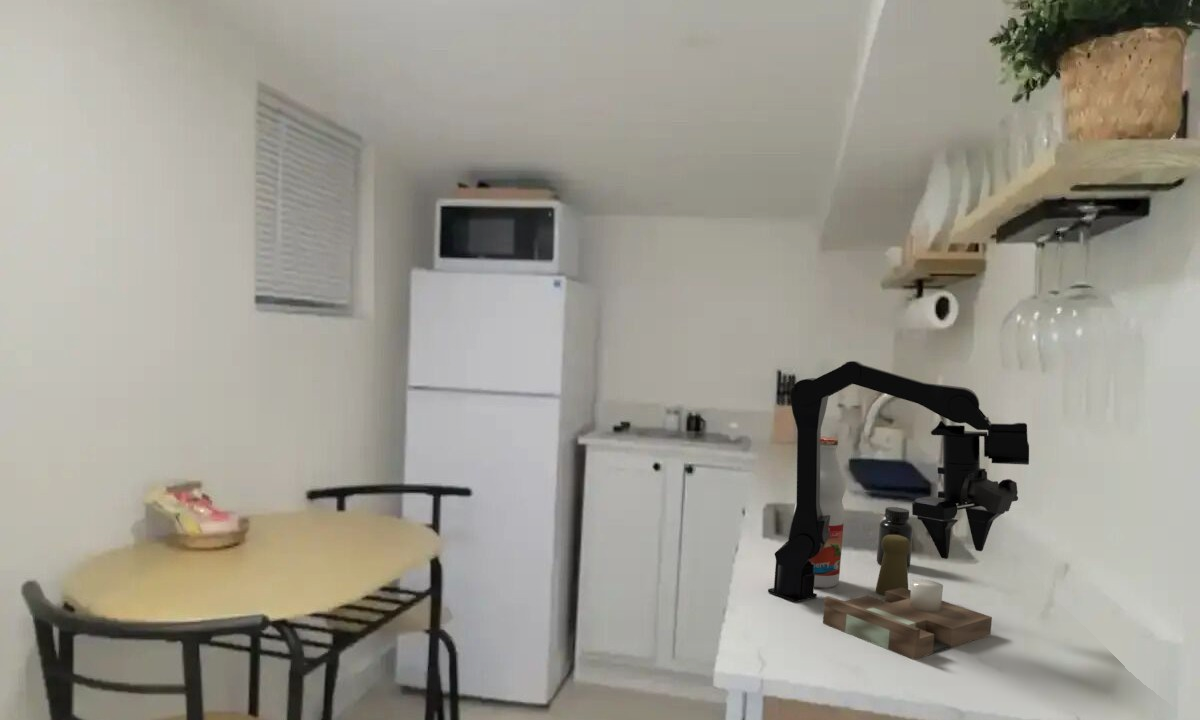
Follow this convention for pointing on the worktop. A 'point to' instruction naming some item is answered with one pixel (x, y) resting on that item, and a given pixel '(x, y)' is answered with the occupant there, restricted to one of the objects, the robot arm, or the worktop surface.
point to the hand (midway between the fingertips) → (962, 554)
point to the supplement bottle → (895, 529)
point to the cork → (893, 564)
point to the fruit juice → (830, 505)
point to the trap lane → (905, 623)
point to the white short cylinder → (926, 595)
